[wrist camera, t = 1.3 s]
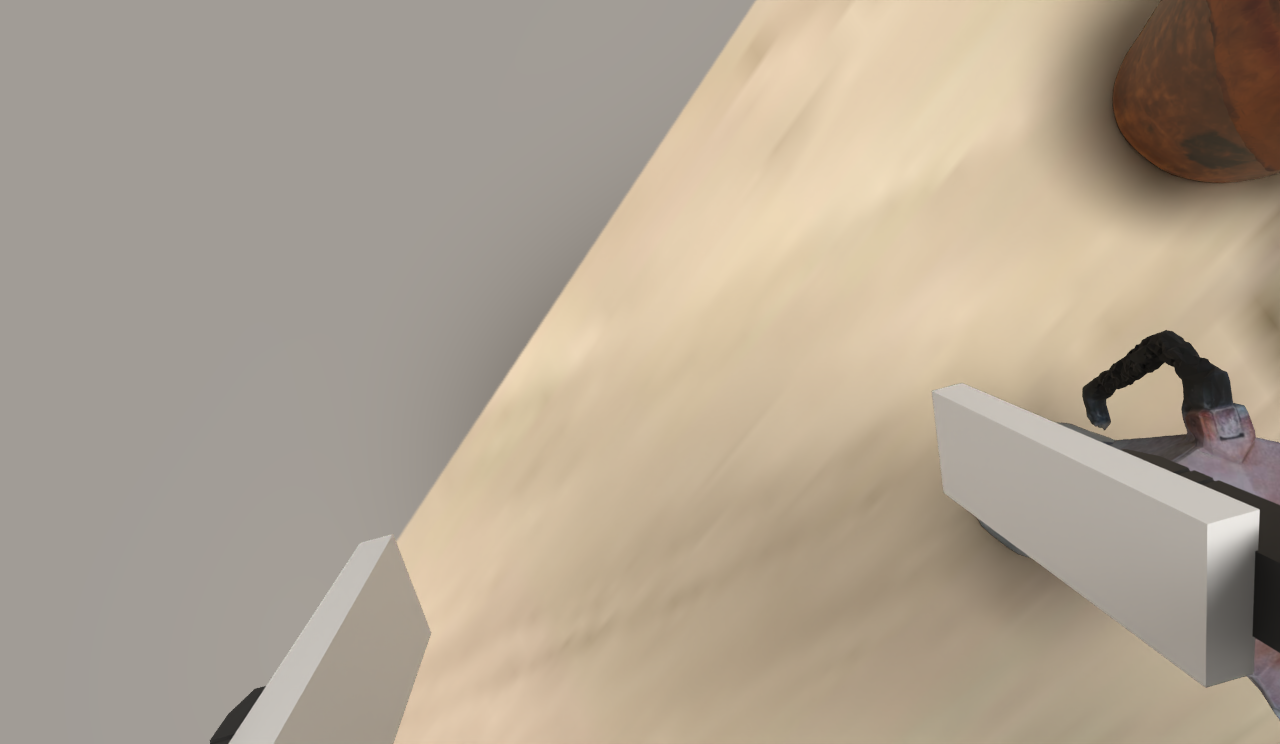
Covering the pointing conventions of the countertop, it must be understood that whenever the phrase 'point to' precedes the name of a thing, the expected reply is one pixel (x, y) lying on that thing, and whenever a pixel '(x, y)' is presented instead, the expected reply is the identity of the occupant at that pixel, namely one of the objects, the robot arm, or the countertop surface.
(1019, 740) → the countertop surface
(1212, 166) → the case
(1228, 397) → the moka pot
